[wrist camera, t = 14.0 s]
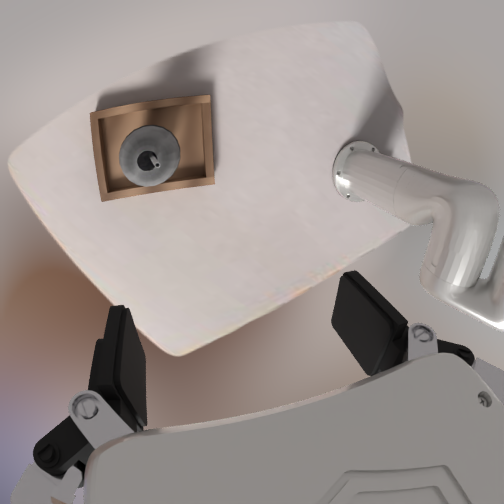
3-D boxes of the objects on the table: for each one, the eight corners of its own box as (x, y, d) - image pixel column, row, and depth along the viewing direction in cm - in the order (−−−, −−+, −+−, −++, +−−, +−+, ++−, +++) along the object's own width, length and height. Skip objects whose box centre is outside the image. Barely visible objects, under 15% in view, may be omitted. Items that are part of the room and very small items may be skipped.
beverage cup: (126, 129, 36) (95, 140, 19) (172, 118, 37) (178, 117, 20) (135, 174, 40) (115, 218, 23) (180, 162, 41) (193, 198, 24)
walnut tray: (207, 96, 38) (210, 94, 36) (211, 180, 45) (214, 184, 42) (94, 113, 34) (89, 112, 31) (105, 196, 40) (101, 201, 38)
